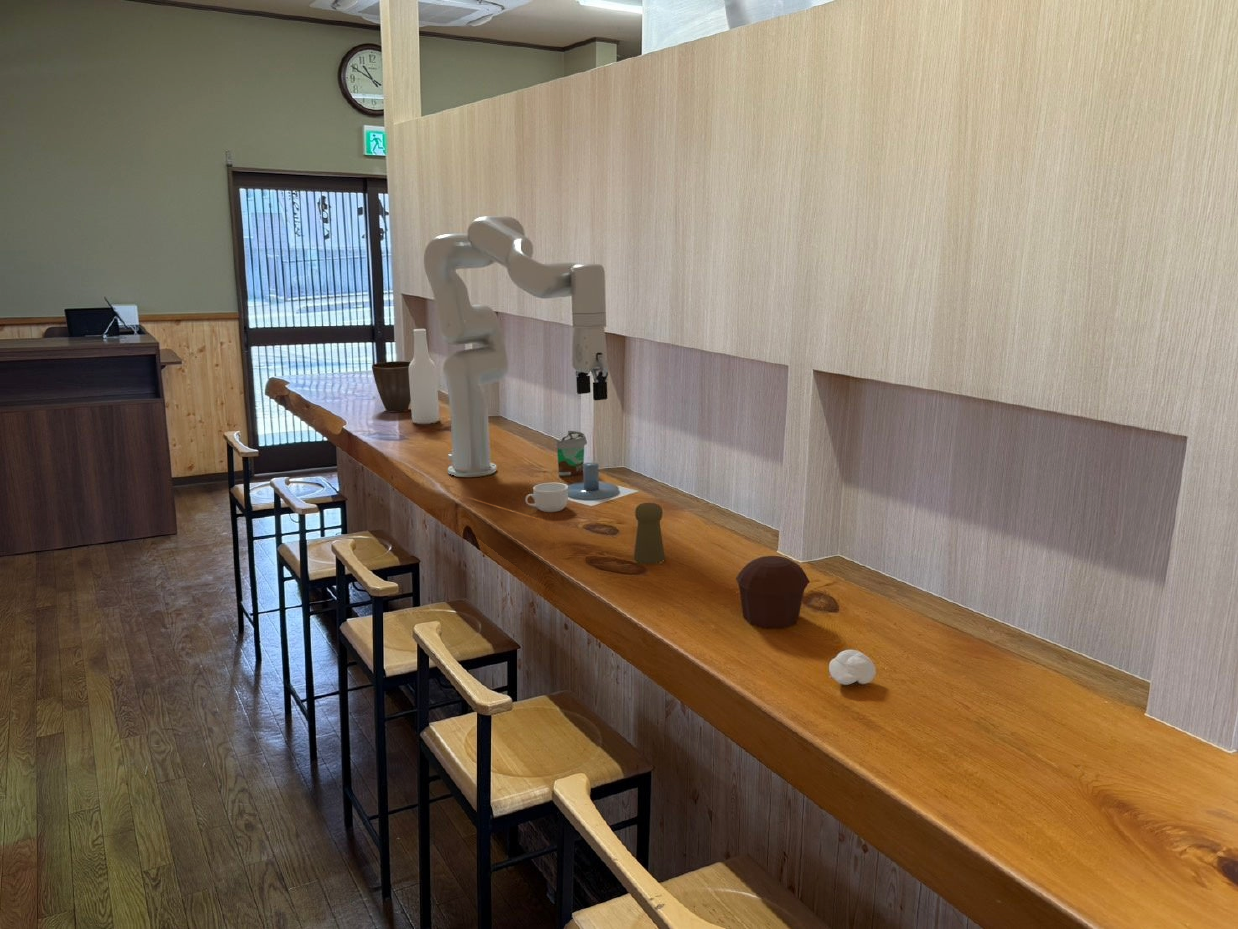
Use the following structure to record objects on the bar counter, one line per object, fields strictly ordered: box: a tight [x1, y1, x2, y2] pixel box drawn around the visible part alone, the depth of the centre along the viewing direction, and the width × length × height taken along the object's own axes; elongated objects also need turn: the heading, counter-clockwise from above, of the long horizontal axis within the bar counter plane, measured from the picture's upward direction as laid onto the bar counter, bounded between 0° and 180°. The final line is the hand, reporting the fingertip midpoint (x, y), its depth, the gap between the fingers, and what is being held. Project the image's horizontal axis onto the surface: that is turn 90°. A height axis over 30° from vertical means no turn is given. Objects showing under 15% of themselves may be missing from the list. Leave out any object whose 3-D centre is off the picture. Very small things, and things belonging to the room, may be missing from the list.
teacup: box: [525, 482, 569, 513], centre depth 211 cm, size 10×8×5 cm
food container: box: [556, 430, 588, 478], centre depth 240 cm, size 12×6×10 cm, turn 168°
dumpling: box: [828, 649, 877, 686], centre depth 131 cm, size 7×5×4 cm
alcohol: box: [409, 328, 440, 425], centre depth 303 cm, size 9×9×30 cm
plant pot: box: [371, 360, 411, 412], centre depth 325 cm, size 15×15×16 cm
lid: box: [567, 462, 619, 500], centre depth 223 cm, size 13×13×7 cm
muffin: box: [735, 555, 810, 630], centre depth 152 cm, size 12×11×10 cm
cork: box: [633, 502, 666, 565], centre depth 179 cm, size 6×6×11 cm
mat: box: [568, 480, 640, 507], centre depth 224 cm, size 16×16×1 cm
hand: (591, 396), depth 214 cm, fingers open, 9 cm apart
